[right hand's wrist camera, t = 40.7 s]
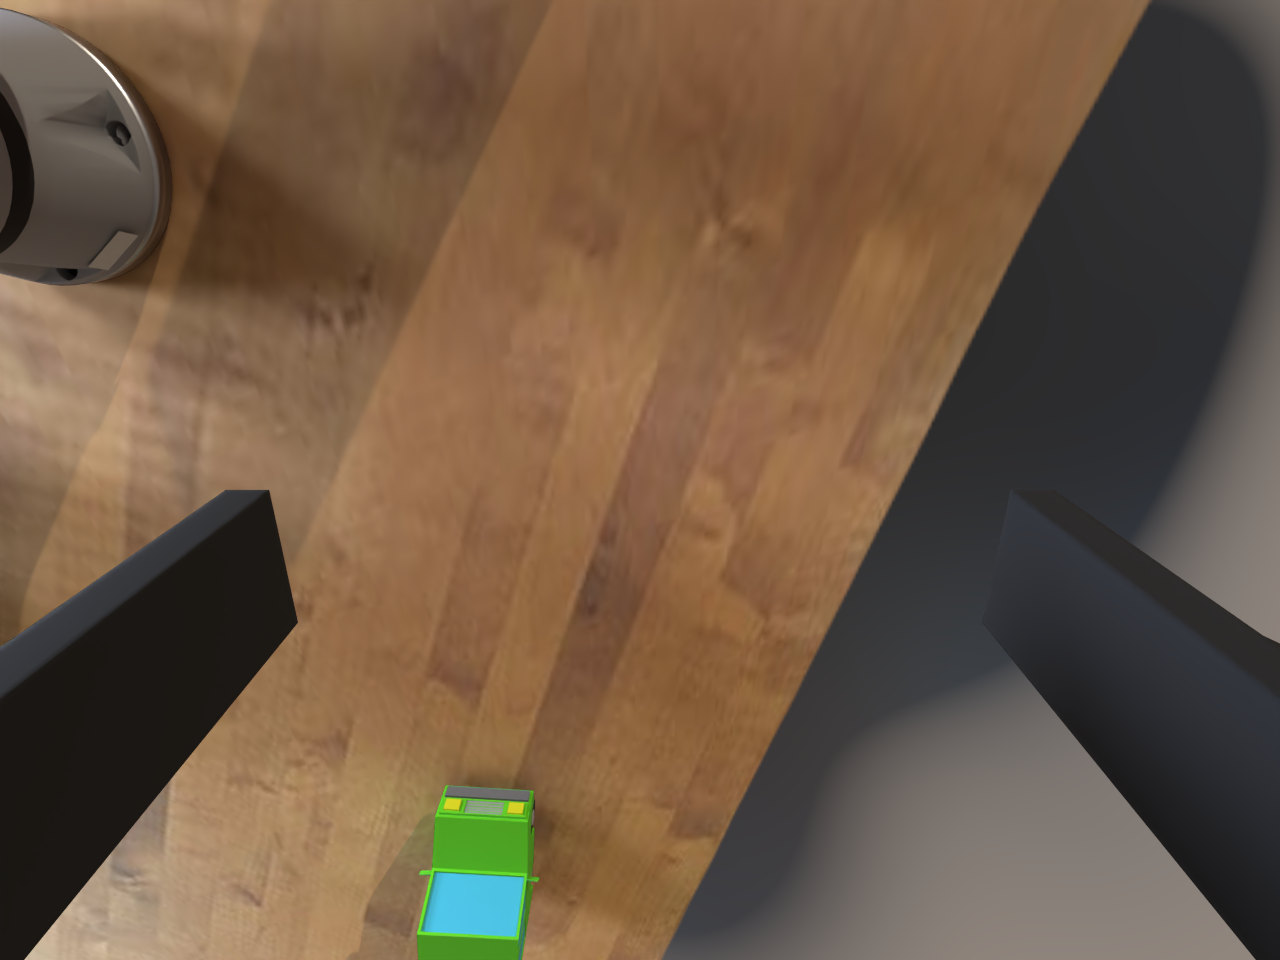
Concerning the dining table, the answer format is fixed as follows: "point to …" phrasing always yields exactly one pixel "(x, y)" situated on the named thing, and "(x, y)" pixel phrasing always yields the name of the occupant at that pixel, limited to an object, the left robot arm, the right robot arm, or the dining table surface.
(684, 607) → the dining table surface
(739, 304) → the dining table surface
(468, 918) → the toy car
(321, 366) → the dining table surface
